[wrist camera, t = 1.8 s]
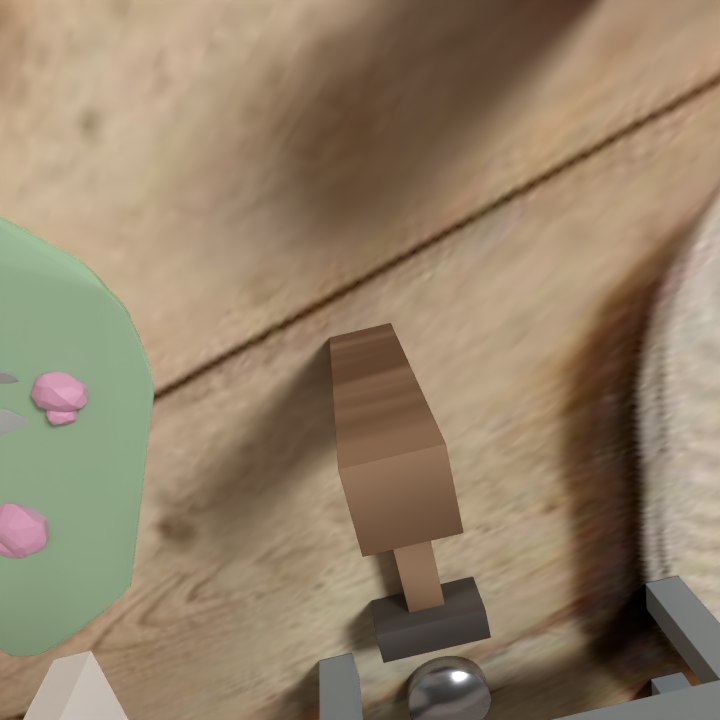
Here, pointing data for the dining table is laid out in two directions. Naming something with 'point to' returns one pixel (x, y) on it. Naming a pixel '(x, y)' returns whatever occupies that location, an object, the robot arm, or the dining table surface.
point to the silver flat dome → (448, 690)
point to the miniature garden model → (65, 443)
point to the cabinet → (643, 716)
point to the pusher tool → (400, 493)
